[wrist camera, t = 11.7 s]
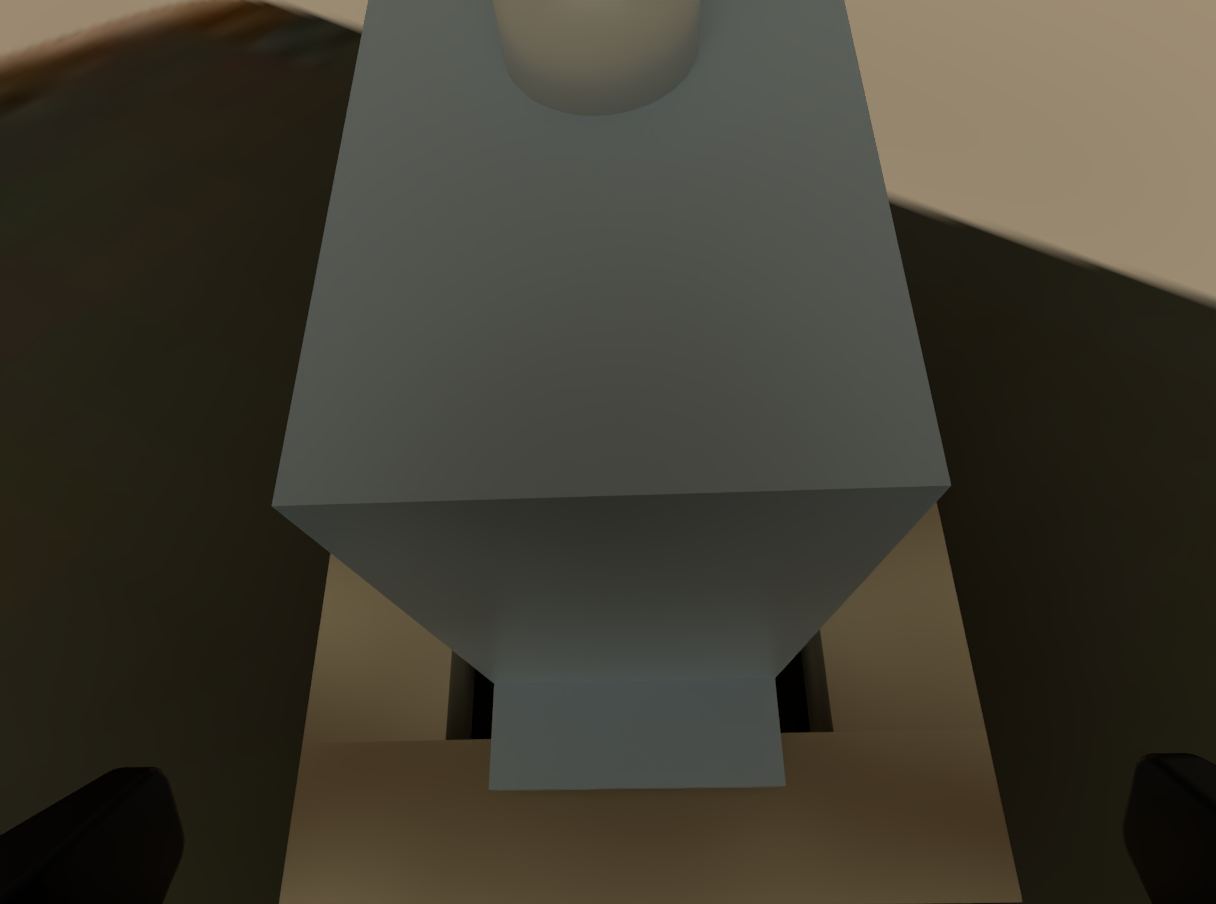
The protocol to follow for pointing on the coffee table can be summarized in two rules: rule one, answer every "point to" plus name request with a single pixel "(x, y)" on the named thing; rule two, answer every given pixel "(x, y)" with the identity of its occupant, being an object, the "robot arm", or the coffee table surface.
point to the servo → (612, 367)
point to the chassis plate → (658, 818)
